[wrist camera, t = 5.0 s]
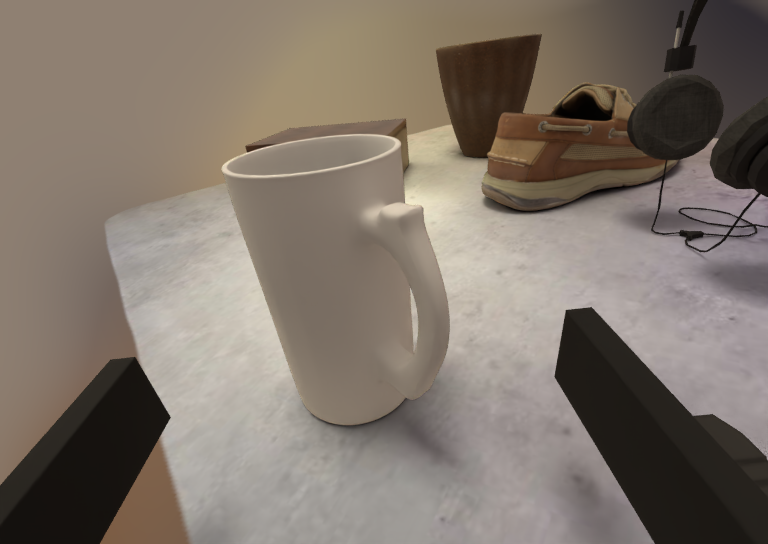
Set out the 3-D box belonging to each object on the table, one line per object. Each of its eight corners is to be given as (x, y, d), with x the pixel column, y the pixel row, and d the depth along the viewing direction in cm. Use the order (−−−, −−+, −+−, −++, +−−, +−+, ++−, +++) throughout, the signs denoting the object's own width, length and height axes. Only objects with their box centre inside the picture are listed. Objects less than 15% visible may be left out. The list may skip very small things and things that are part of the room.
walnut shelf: (259, 195, 53) (245, 145, 50) (298, 169, 65) (289, 128, 62) (392, 190, 49) (386, 135, 45) (409, 163, 60) (405, 118, 57)
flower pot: (447, 168, 55) (444, 44, 48) (433, 148, 68) (429, 49, 60) (546, 156, 55) (560, 30, 47) (513, 139, 68) (520, 38, 60)
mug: (274, 376, 21) (199, 161, 15) (369, 323, 24) (339, 130, 18) (385, 522, 13) (324, 216, 8) (498, 417, 17) (518, 148, 11)
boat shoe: (706, 161, 45) (738, 64, 40) (546, 228, 34) (561, 103, 28) (617, 150, 54) (633, 69, 49) (464, 200, 42) (465, 101, 37)
